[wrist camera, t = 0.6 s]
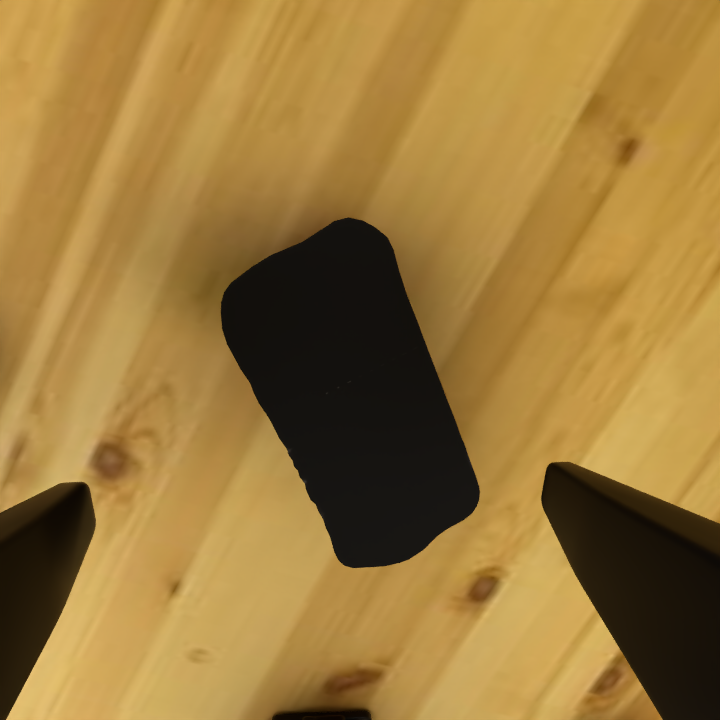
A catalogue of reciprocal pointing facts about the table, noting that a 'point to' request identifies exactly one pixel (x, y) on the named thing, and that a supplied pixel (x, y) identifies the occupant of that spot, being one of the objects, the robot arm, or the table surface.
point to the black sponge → (352, 392)
